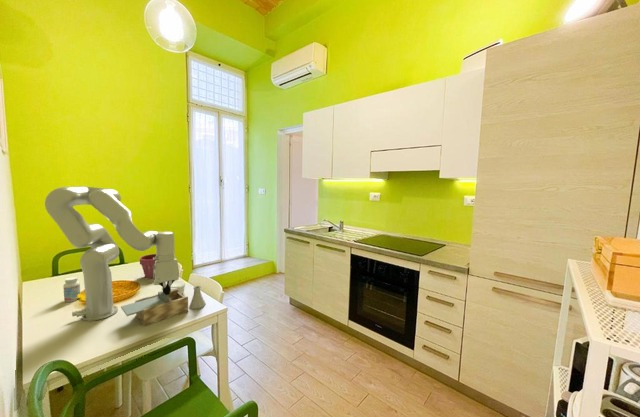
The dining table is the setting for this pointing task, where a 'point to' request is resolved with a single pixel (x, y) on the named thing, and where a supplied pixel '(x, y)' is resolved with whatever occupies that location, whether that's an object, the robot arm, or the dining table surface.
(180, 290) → the ramekin
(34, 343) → the dining table surface
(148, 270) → the plant pot
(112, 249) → the robot arm
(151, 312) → the wooden box
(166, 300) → the lid
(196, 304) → the flask
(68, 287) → the pill bottle
